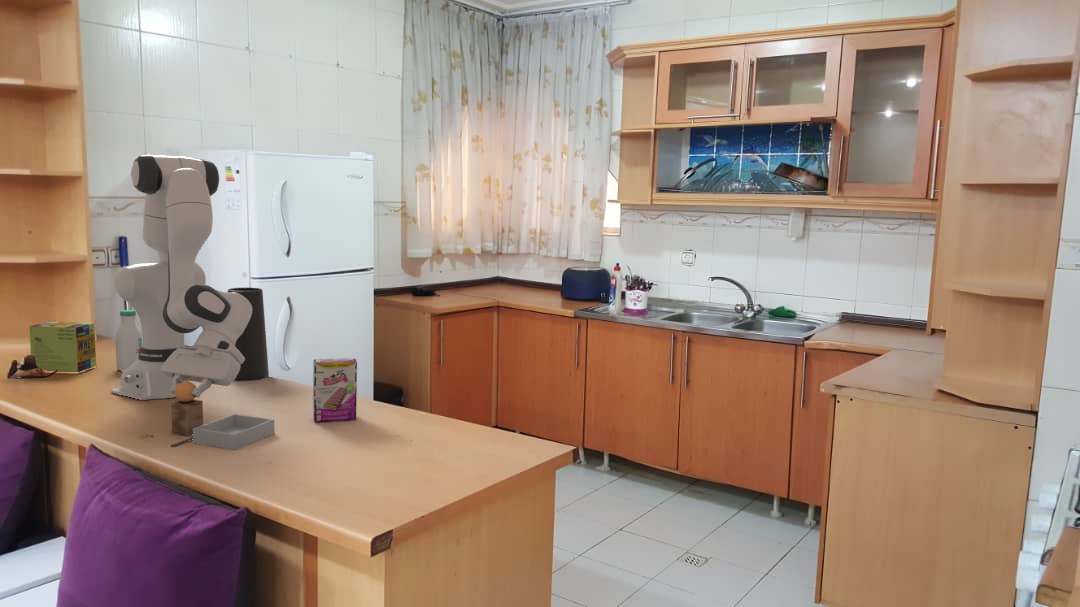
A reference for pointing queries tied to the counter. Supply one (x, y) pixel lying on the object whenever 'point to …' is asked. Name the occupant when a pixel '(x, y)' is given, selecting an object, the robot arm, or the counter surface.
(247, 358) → the vase
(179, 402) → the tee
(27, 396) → the counter surface
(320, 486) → the counter surface
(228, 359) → the robot arm
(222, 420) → the tray
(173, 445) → the line
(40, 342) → the protein box
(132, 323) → the milk bottle
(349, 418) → the candy bar box
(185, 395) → the ball
